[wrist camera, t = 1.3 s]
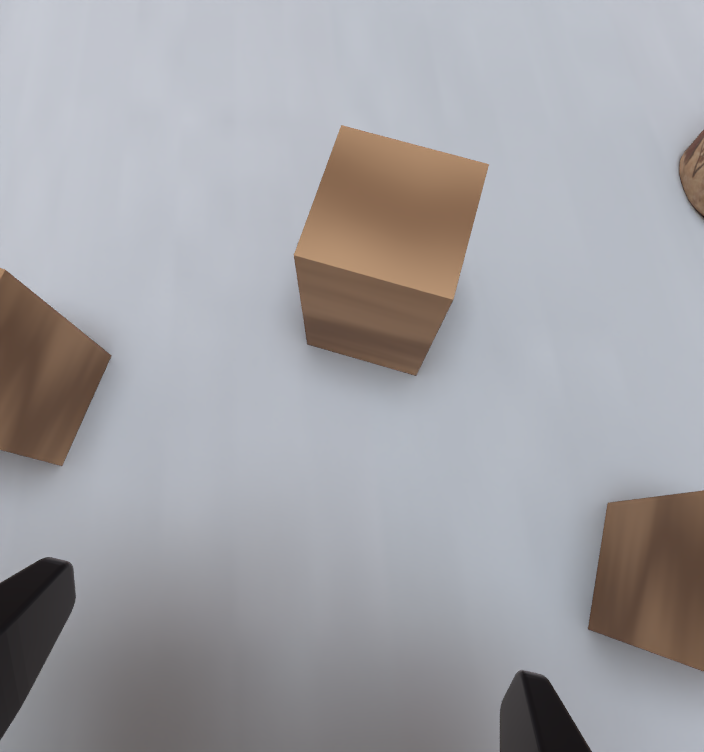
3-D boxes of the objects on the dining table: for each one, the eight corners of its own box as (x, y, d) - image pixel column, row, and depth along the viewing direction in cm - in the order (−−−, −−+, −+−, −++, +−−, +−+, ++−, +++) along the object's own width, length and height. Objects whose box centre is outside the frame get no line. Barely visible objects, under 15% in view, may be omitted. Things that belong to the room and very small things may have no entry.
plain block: (416, 375, 24) (453, 300, 16) (307, 344, 24) (293, 255, 17) (443, 276, 25) (488, 164, 18) (339, 248, 26) (341, 125, 18)
